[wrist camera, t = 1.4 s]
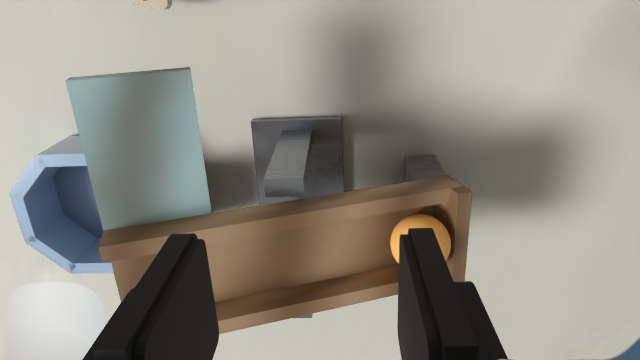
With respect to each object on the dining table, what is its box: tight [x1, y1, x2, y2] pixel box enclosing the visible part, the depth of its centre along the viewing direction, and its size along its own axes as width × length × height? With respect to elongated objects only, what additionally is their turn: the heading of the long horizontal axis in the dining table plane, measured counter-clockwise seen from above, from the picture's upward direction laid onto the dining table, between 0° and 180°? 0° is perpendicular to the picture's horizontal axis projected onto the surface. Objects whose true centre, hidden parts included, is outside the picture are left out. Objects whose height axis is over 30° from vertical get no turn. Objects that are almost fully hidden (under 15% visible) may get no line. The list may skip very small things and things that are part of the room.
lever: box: [66, 67, 472, 334], centre depth 23 cm, size 18×13×3 cm
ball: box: [390, 214, 451, 263], centre depth 26 cm, size 3×3×3 cm
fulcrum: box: [251, 116, 446, 318], centre depth 29 cm, size 19×10×9 cm, turn 93°
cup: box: [9, 135, 114, 274], centre depth 32 cm, size 9×9×4 cm
